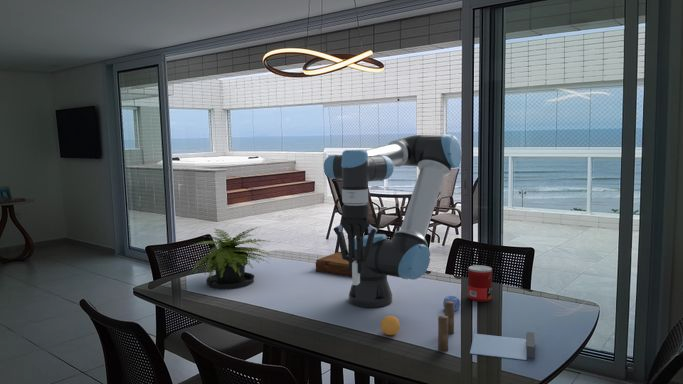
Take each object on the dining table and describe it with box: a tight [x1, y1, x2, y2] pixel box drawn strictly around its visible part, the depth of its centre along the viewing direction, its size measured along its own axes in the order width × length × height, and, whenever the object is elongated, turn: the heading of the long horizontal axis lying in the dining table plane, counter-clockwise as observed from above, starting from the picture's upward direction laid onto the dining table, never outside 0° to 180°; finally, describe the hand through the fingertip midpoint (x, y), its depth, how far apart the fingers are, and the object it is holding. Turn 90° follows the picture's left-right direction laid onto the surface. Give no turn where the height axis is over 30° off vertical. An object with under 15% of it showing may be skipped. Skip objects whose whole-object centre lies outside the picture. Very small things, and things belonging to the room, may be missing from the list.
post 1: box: [437, 314, 449, 353], centre depth 137 cm, size 3×3×9 cm
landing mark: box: [469, 333, 528, 361], centre depth 139 cm, size 14×14×1 cm
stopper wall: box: [525, 331, 536, 359], centre depth 136 cm, size 2×10×3 cm, turn 161°
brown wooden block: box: [315, 251, 352, 278], centre depth 222 cm, size 23×19×6 cm
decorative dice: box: [442, 295, 461, 312], centre depth 169 cm, size 4×4×4 cm
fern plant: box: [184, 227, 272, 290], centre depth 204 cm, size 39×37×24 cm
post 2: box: [444, 301, 455, 335], centre depth 149 cm, size 3×3×9 cm
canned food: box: [467, 264, 493, 303], centre depth 180 cm, size 8×8×11 cm
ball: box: [380, 315, 401, 336], centre depth 149 cm, size 6×6×6 cm
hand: (356, 283), depth 150 cm, fingers closed
